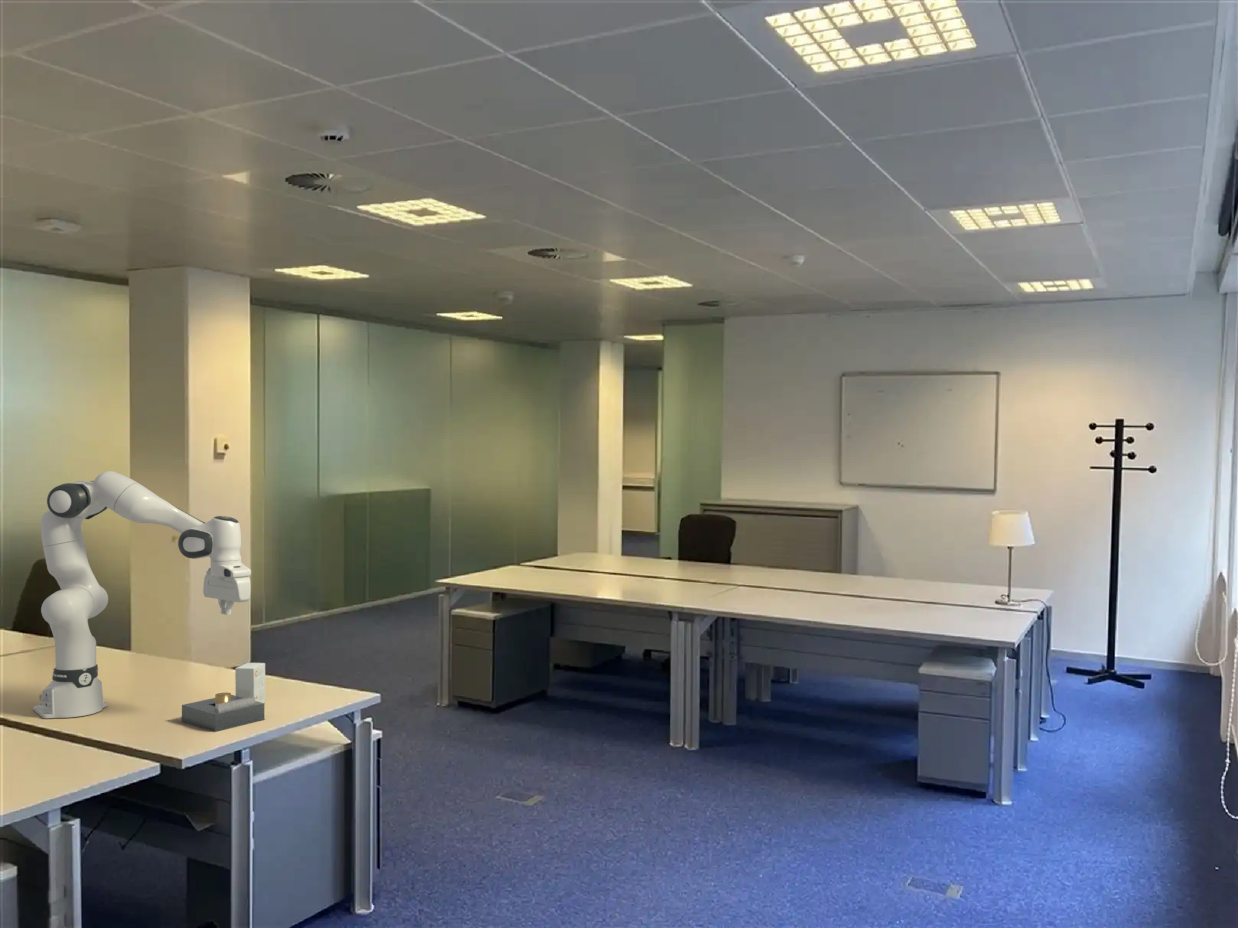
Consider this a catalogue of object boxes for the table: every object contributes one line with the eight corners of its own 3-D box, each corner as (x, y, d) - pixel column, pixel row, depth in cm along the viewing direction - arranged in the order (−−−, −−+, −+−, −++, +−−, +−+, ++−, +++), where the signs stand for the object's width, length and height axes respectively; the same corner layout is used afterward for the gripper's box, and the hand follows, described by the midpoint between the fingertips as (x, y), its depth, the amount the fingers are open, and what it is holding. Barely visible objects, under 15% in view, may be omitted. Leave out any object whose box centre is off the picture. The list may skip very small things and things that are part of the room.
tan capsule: (212, 720, 292) (212, 694, 292) (225, 717, 296) (225, 691, 296) (220, 723, 290) (220, 696, 290) (233, 720, 293) (233, 693, 293)
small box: (246, 702, 314) (246, 662, 314) (265, 702, 314) (265, 662, 314) (234, 708, 306) (234, 667, 306) (254, 709, 306) (254, 668, 306)
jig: (181, 721, 292) (181, 698, 292) (230, 710, 305) (230, 688, 304) (215, 731, 281) (215, 707, 281) (264, 719, 294) (264, 696, 294)
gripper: (197, 567, 302) (197, 612, 302) (235, 572, 290) (235, 618, 290) (216, 565, 307) (216, 609, 307) (254, 570, 295) (254, 616, 295)
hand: (226, 614), depth 299 cm, fingers closed
